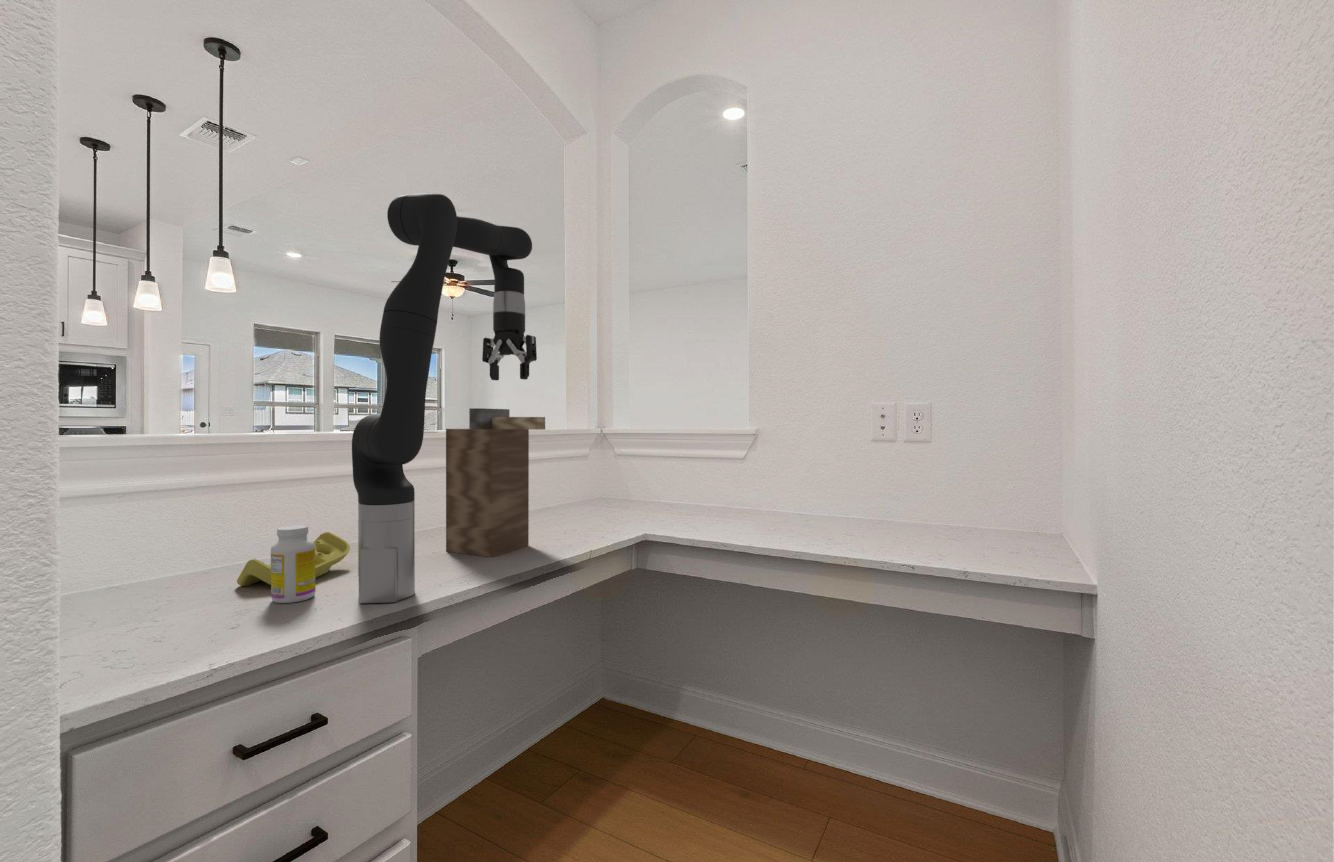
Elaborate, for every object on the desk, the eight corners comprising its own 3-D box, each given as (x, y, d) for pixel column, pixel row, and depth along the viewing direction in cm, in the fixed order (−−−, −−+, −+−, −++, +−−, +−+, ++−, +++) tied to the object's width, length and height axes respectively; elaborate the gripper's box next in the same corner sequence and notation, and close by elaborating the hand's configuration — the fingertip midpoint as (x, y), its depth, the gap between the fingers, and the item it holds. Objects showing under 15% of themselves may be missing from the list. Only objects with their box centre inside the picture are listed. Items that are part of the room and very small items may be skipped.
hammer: (553, 429, 142) (553, 409, 142) (528, 429, 132) (528, 408, 132) (496, 428, 149) (496, 409, 148) (469, 429, 139) (469, 408, 139)
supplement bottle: (319, 591, 107) (318, 523, 107) (310, 602, 101) (310, 529, 101) (277, 595, 105) (276, 525, 105) (265, 606, 99) (265, 531, 98)
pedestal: (528, 545, 148) (528, 428, 147) (491, 557, 135) (491, 429, 134) (485, 540, 153) (485, 428, 153) (446, 551, 140) (445, 428, 140)
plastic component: (289, 579, 107) (244, 555, 108) (276, 613, 108) (232, 588, 109) (359, 548, 127) (321, 527, 127) (348, 577, 128) (310, 556, 128)
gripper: (543, 313, 140) (542, 380, 140) (495, 317, 145) (495, 381, 146) (524, 308, 133) (524, 378, 133) (475, 312, 138) (475, 379, 139)
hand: (509, 379), depth 139 cm, fingers open, 8 cm apart
